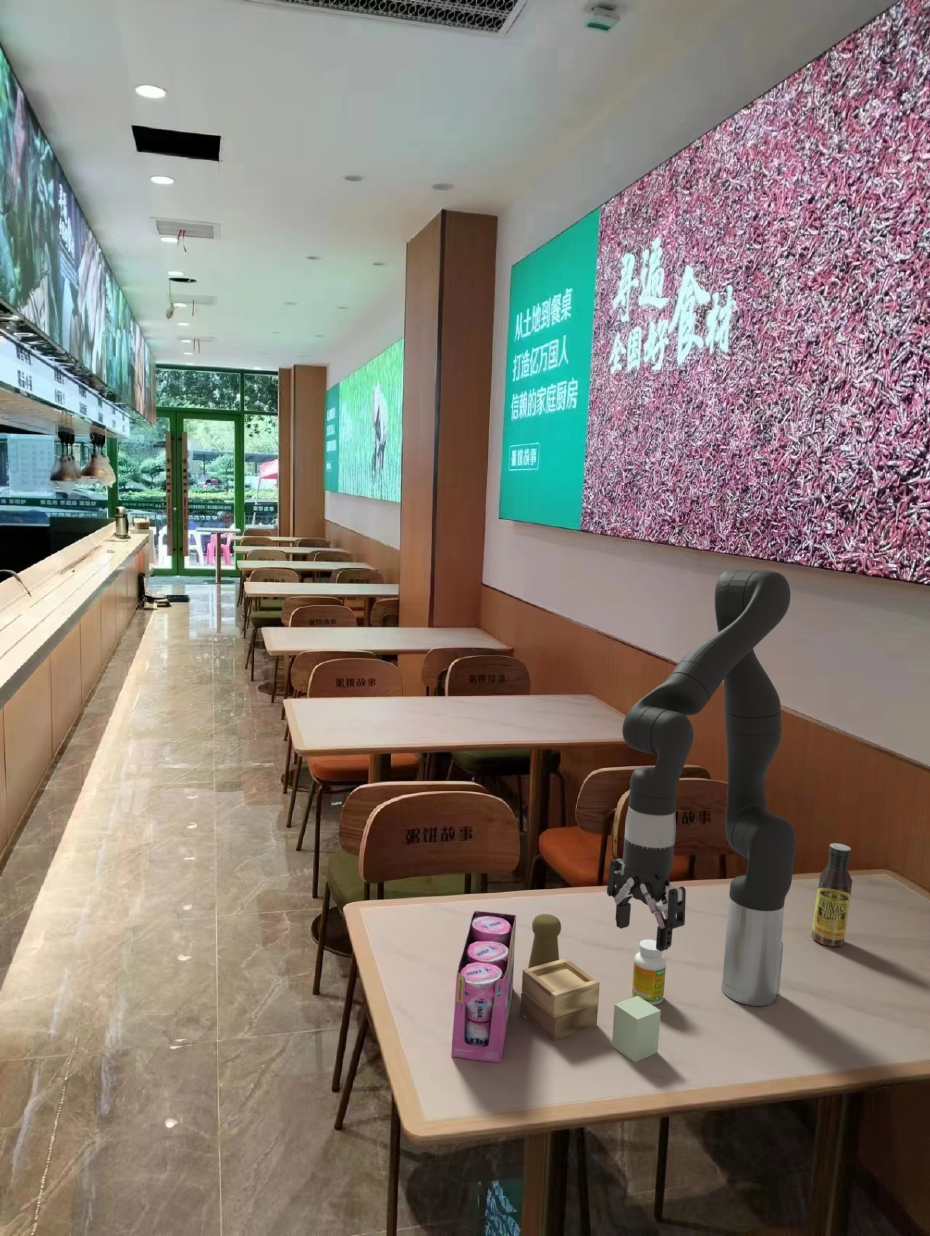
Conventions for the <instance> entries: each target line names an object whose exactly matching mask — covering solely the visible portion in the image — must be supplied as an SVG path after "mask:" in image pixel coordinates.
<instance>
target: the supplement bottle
mask: <svg viewBox="0 0 930 1236" xmlns="http://www.w3.org/2000/svg"><path fill="white" fill-rule="evenodd" d="M663 952H664V951H659V950H657V949H656V940H654V939H643V940H641V941H640V942H639V946H638V952H636V954H635V956H634V961H633V972H632V988H631V995H632V998H633V997H636V996H639V997H640V998H642V999H643V1000H645V1001H647V1002H648V1003H650V1004H651V1005H653V1006H655V1005H656V1006H657V1005H659V1004H661V1003H662V1002H663V1000H664V995H665V980H666V968H667V967H666V966H667V961H666V958H665V957H664V956H663Z"/></svg>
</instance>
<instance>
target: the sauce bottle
mask: <svg viewBox="0 0 930 1236" xmlns="http://www.w3.org/2000/svg"><path fill="white" fill-rule="evenodd" d="M851 854H852V847H850V846H848V845H846V844H843V843H839V842H838V843H836V842H834V843H830V844H829V847H828V862H827V865H826V866H825V868H824V869H823V871H821V873H820V875H819V883H818V886H817V891H816V896H815V897H816V898H815V904H814V912H813V913H814V914H813V920H812V926H811V929H812V931H811V937H812V939H813V940H814V941H815V942H817V943H819V944H821V945H823V946H826V947H835V948H836V947H841V946H842V945H843V944H844V942H845V937H846V932H847V924H848V919H849V911H850V906H851V905H850V904H851V897H852V888H853V887H852V886H853V879H852V877H851V875H850V873H849V872H850V871H849V862H850V856H851Z"/></svg>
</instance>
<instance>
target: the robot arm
mask: <svg viewBox="0 0 930 1236" xmlns="http://www.w3.org/2000/svg"><path fill="white" fill-rule="evenodd" d="M790 604H791V588H790V584H789V581H788V580H787V578H786V577H785V576H784V575H783V574H781V573H780V572H777V571H772V570H763V569H761V570H759V569H758V570H757V569H729V570H728V569H727V570H725V571H724V572H722V574H720V576H719V578H718V579H717V582H716V585H715V591H714V611H715V619H716V621H715V622H716V626H717V633H715V634H714V635H712V636H710V637H708V638H707V639H705V640H703V641H702V642H700V643H699V644H697V645H696V646H694V647H693V648H692V649H690V650H689V651H688V652H687V653H686V654H685V655H684V656H683V658H681V659H680V661H678V664H677V665H676V666H675V668H674V669H673V670H672V671H671V673H670V674H669V676H668V677H667V679H666V680H665V681H664V682H662V683H661V684H659V685H658V686H656V687H655V688H654V689H653V690H651V691H650V692H649V693H647V694H646V695H645V696H643V697H642V698H640V699H639V700H638V701H637V702H635V704H634V705H633V706H632V707H631V708H630V709H629V710H628V712H627V714H626V716H625V717H624V720H623V723H622V729H621V730H622V731H621V732H622V737H623V740H624V742H625V743H626V745H628V746H629V747H630V748H631V749H634V750H636V751H638V752H643V753H647V754H651V755H654V756H657V761H656V764H655V765H654V766H641V767H638V768H636V769H634V770H633V772H632V773H631V774H630V775H631V776H630V781H629V795H628V796H629V797H628V809H627V813H626V817H625V827H624V828H625V829H624V837H623V839H624V841H623V853H622V854H623V855H622V857H621V858H617V859H613V860H611V861H609V862H610V863H609V870H608V871H609V872H608V879H607V888H606V894H607V896H609V897H612V898H613V899H614V902H615V904H616V905H615V906H616V907H615V922H616V927H617V928H619V929H622V930H623V929H624V928H629V926H630V924H631V923H630V921H631V910H632V909H631V906H632V904H631V902H630V901H631V900H632V899H635V900H639V901H641V903H643V904H645V906H646V905H647V906H648V908H649V911H650V914H652V915H654V917H655V920H656V923H657V925H658V926H657V928H656V938H655V939H656V940H655V941H656V949H657V950H659V951H663V952H664V951H666V950H668V949H669V948H671V946H672V941H673V929H677V928H680V927H684V926H685V925H686V902H687V901H686V896H687V893H686V892H687V891H686V888H685V886H683V885H682V886H678V887H676V886H674V885H672V884H671V882H670V877H669V876H670V873H671V872H672V870H673V867H674V856H675V845H676V844H675V842H676V830H677V829H676V828H677V822H676V821H677V820H676V809H677V808H676V807H677V796H678V786H679V782H680V779H681V776H682V773H683V771H684V767H685V764H686V762H687V759H688V756H689V755H690V751H691V749H692V746H693V743H694V729H693V725H692V722H691V720H690V718H688V716H694V715H697V714H699V713H701V711H702V710H703V709H704V708H705V706H706V705H707V703H708V702H709V701H710V700H711V698H712V696H713V695H714V694H715V692H716V691H717V690H718V688H719V686H720V685H721V684H722V682H723V693H724V695H723V696H724V697H723V698H724V702H723V703H724V705H723V706H724V708H723V709H724V710H723V711H724V725H725V726H724V727H725V739H726V766H727V767H726V769H727V771H726V772H727V788H726V789H727V790H726V809H725V822H724V823H725V836H726V841H727V842H728V845H729V847H730V848H731V849H732V850H733V851H734V852H735V853H737V854H738V855H740V856H742V858H745V859H746V860H747V866H746V867H747V868H746V874H744V875H738V876H736V877H734V878H733V879H732V880H731V882H730V884H729V895H728V904H727V905H728V906H727V907H728V908H727V922H726V932H725V933H726V934H725V943H724V945H725V946H724V954H723V955H724V956H723V968H722V969H723V970H722V980H721V990H722V992H723V993H724V994H725V996H727V997H728V998H730V999H731V1000H733V1001H735V1002H738V1003H740V1004H744V1005H747V1006H752V1007H753V1006H756V1007H762V1006H768V1005H772V1004H773V1003H774V1002H775V1001H776V999H777V995H779V994H780V988H781V987H780V985H781V975H782V965H783V954H784V942H783V941H782V935H783V934H782V933H783V924H784V911H785V901H786V897H787V895H788V893H789V891H790V889H791V885H792V880H793V874H794V873H793V872H794V867H795V859H796V854H797V836H796V835H797V834H796V830H795V829H794V827H793V825H792V824H791V822H790V821H788V820H787V819H785V818H783V817H781V816H779V815H778V814H776V813H774V812H772V811H770V810H769V809H768V805H767V801H766V776H767V771H768V769H769V767H770V765H771V763H772V761H773V760H774V758H775V755H776V754H777V753H778V752H777V751H778V750H779V747H780V744H781V741H782V733H783V732H782V707H781V706H782V705H781V700H780V696H779V694H778V691H777V689H776V687H775V685H774V684H773V682H772V680H771V679H770V677H769V675H768V674H767V672H766V671H765V669H764V668H763V666H762V664H761V663H760V660H759V659H758V658H757V655H756V653H755V647H756V646H757V645H758V644H759V643H760V642H761V641H763V639H765V638H766V636H767V635H768V634H769V633H771V632H772V631H773V630H774V629H775V628H776V627H777V626H778V624H779V623H781V621H782V620H783V619H784V617H785V616H786V614H787V612H788V610H789V607H790ZM625 880H626V881H625ZM660 902H661V903H662V904H660V905H658V903H660ZM664 916H665V917H664Z"/></svg>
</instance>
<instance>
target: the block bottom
mask: <svg viewBox="0 0 930 1236" xmlns="http://www.w3.org/2000/svg"><path fill="white" fill-rule="evenodd" d="M519 1003H520V1004H519V1006H520V1007H519V1014H520V1015H521V1016H523V1017H524V1018H525V1019H526V1020H528V1021H529V1022H530V1023H532V1024H533V1025H534V1026H535V1027H537V1028H538V1029H539V1030H541V1031H542V1032H543V1033H544V1034H545V1035H547V1036H548V1037H549V1038H551V1039H552V1040H553V1041H556V1040H560V1039H562V1038H564V1037H567V1036H570V1035H572V1034H576V1033H578V1032H581V1031H583V1030H587V1029H589V1028H591V1027H594V1026H597V1025H598V1010H599V1004H598V1005H594V1006H591V1007H588V1008H585V1009H582V1010H578V1011H575V1012H572V1013H569V1014H566V1015H562V1016H559V1017H556V1018H553V1017H552V1016H550V1015H549V1014H548V1013H547V1012H546V1011H545V1010H543V1009H542V1008H541V1007H540V1006H539V1005H537V1004H536V1003H535V1002H534V1001H533V1000H531V999H530V998H529V997H528V996H527V995H526V994H524V993H523V992H522V991H521V993H520V1002H519Z"/></svg>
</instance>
